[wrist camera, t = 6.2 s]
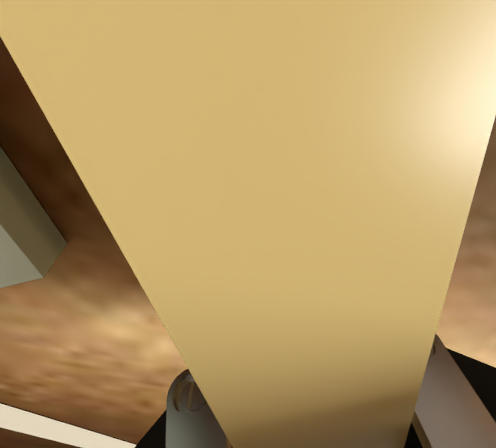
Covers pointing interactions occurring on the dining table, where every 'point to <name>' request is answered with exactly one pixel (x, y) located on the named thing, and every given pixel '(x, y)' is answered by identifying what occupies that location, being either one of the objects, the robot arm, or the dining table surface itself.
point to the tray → (24, 230)
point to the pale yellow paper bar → (278, 186)
